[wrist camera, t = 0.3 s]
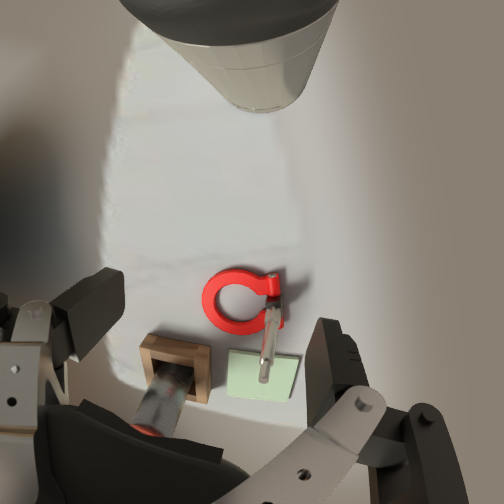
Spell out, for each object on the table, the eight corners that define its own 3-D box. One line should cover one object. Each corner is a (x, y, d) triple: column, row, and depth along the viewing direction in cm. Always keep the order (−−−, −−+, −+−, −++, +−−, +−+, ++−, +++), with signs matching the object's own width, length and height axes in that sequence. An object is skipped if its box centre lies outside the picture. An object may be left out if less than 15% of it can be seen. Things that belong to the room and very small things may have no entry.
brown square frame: (147, 333, 35) (139, 346, 32) (210, 346, 34) (205, 361, 31) (155, 377, 38) (148, 390, 35) (211, 389, 37) (206, 404, 34)
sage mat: (229, 349, 34) (228, 352, 33) (298, 356, 33) (299, 359, 33) (227, 392, 37) (226, 395, 36) (287, 399, 36) (287, 402, 36)
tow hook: (212, 330, 34) (285, 328, 32) (177, 406, 22) (278, 413, 20) (197, 269, 31) (279, 263, 29) (146, 335, 19) (268, 337, 17)
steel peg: (156, 342, 35) (108, 424, 21) (201, 351, 34) (167, 444, 20) (161, 374, 37) (124, 452, 23) (203, 383, 37) (175, 468, 23)
